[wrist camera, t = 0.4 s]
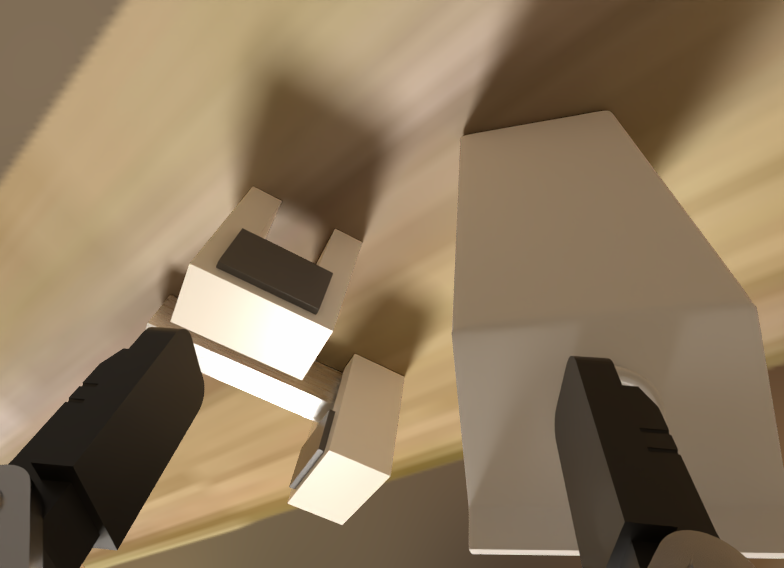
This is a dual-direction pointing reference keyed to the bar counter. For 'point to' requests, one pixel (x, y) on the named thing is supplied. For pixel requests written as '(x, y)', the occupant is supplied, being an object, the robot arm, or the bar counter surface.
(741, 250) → the bar counter surface
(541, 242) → the milk carton
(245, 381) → the rail
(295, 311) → the cream rectangular block
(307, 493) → the block
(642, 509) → the robot arm
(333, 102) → the bar counter surface
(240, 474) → the bar counter surface
